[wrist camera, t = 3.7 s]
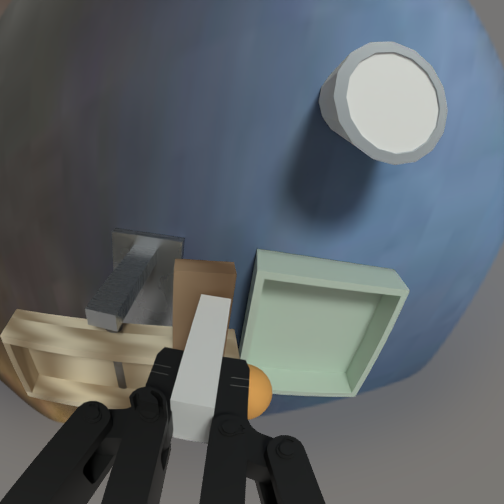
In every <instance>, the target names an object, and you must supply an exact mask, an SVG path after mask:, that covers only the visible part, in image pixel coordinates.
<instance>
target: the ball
mask: <svg viewBox="0 0 504 504" xmlns="http://www.w3.org/2000/svg"><path fill="white" fill-rule="evenodd" d="M248 366H249V368H250V377H249V397H248V420H249V419H253V418H255V417H257V416H259V415H261V414H262V413H263V412H264V411H265V410H266V409H267V407H268V406H269V404H270V402H271V398H272V386H271V383H270V380H269V378H268V377H267V375H266V374H265V373H264V372H263V371H262V370H261V369H259V368H258V367H256V366H253V365H250V364H248Z"/></svg>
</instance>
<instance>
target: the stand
mask: <svg viewBox="0 0 504 504" xmlns="http://www.w3.org/2000/svg"><path fill="white" fill-rule="evenodd" d="M184 239H185V238H181V237H174V236H167V235H161V234H154V233H147V232H140V231H133V230H126V229H119V228H115V229H114V230H113V231H112V246H113V265H114V271H113V272H112V273H111V275H110V276H109V277H108V279H107V280H106V281H105V282H104V284H103V285H102V286H101V288H100V289H99V290H98V292H97V293H96V294H95V296H94V297H93V298H92V300H91V301H90V302H89V304H88V305H87V307H86V308H85V311H86V316H87V322H88V325H92V326H96V327H100V328H104V329H108V330H112V331H117V332H118V330H119V328H120V326H121V324H122V323H131V324H143V325H157V326H172V327H173V280H174V264H175V259H183V253H184Z"/></svg>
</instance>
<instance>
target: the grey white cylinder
mask: <svg viewBox="0 0 504 504" xmlns="http://www.w3.org/2000/svg"><path fill="white" fill-rule="evenodd" d="M319 105H320V109H321V114H322V117H323V118H324V120H325V121H326V123H327V124H328V126H329V127H330V129H331V130H333V131H334V132H336V133H337V134H339V135H340V136H341V137H343V138H344V139H346V140H347V141H349V142H350V143H351V144H353V145H354V146H356V147H357V148H358V149H360V150H361V151H363V152H364V153H365V154H367V155H368V156H369V157H371V158H372V159H375V160H378V161H382V162H386V163H389V164H393V165H398V164H404V163H411V162H416V161H417V160H419V159H420V158H422V157H423V156H425V155H426V154H428V153H429V152H431V151H432V150H433V149H434V147H435V145H436V144H437V142H438V141H439V139H440V137H441V136H442V134H443V133H444V128H445V122H446V117H447V111H448V110H447V104H446V98H445V92H444V87H443V85H442V84H441V82H440V80H439V78H438V76H437V74H436V72H435V71H434V69H433V67H432V66H431V65H430V64H429V63H428V62H427V61H426V60H425V59H424V58H422V57H421V56H420V55H419V54H418V53H417V52H416V51H415V50H412V49H410V48H407V47H405V46H403V45H400V44H397V43H395V42H370V43H368V44H366V45H364V46H363V47H361V48H359V49H357V50H355V51H353V52H351V53H350V54H349V55H348V56H347V57H346V58H345V59H344V60H343V62H342V63H341V64H340V65H339V66H338V67H337V68H336V69H335V70H334V71H333V72H332V73H331V74H330V75H329V77H328V78H327V80H326V81H325V83H324V84H323V85H322V87H321V91H320V97H319Z"/></svg>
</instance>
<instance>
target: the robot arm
mask: <svg viewBox="0 0 504 504" xmlns="http://www.w3.org/2000/svg"><path fill="white" fill-rule="evenodd" d="M230 304H231V299H228V298H222V297H216V296H210V295H204V294H201V297H200V300H199V304H198V307H197V310H196V313H195V317H194V320H193V323H192V326H191V330H190V333H189V336H188V340H187V343H186V347H185V350H184V351H183V350H178V349H173V348H168V347H164V348H163V349H162V350H161V351H160V352H159V353H158V354H157V356H156V358H155V361H154V365H153V366H152V369H151V372H150V374H149V377H148V380H147V383H146V385H145V387H141V388H138V389H136V390H135V391H133V392H132V393H131V395H130V396H129V399H130V403H131V407H129V408H126V409H108V408H107V407H106V406H105V405H104V404H103V403H100V402H98V401H88V402H85V403H83V404H82V405H80V406H79V407H78V408H77V409H76V411H75V412H74V413H73V414H72V415H71V416H70V418H69V419H68V420H67V421H66V422H65V424H64V425H63V426H62V427H61V428H60V429H59V431H58V432H57V433H56V434H55V435H54V437H53V438H52V439H51V440H50V441H49V442H48V444H47V445H46V446H45V447H44V448H43V450H42V451H41V452H40V453H39V455H38V456H37V457H36V458H35V459H34V461H33V462H32V463H31V464H30V466H29V467H28V468H27V469H26V470H25V472H24V473H23V474H22V475H21V477H20V478H19V479H18V480H17V481H16V483H15V484H14V485H13V486H12V488H11V489H10V490H9V492H8V493H7V494H6V495H5V497H4V498H3V499H2V500H1V502H0V504H87V503H88V501H89V500H90V499H91V497H92V496H93V494H94V493H95V491H96V490H97V488H98V487H99V485H100V484H101V482H102V481H103V479H104V478H105V476H106V475H107V473H108V472H109V471H110V469H111V468H112V470H111V473H110V477H109V480H108V483H107V486H106V489H105V493H104V496H103V500H102V503H101V504H159V502H160V497H161V492H162V488H163V483H164V478H165V473H166V469H167V464H168V460H169V455H170V451H171V444H170V442H171V438H172V434H173V437H174V438H179V439H184V440H189V441H195V442H201V443H207V444H208V447H207V455H206V461H205V468H204V476H203V482H202V489H201V496H200V503H199V504H245V487H246V477H248V478H250V479H253V480H255V483H256V486H257V490H258V494H259V498H260V501H261V504H325V501H324V499H323V496H322V494H321V491H320V489H319V486H318V483H317V480H316V478H315V475H314V473H313V470H312V467H311V465H310V462H309V459H308V457H307V454H306V452H305V449H304V446H303V445H302V443H301V442H300V441H299V440H297V439H296V438H294V437H291V436H288V435H281V436H278V437H275V438H272V437H269V436H266V435H263V434H261V433H259V432H257V431H256V430H255V429H253V428H252V426H251V425H250V423H249V421H248V397H249V377H250V368H249V366H248V364H247V362H246V360H243V359H236V358H229V357H223V351H224V345H225V338H226V331H227V324H228V317H229V311H230ZM112 466H113V467H112Z"/></svg>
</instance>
